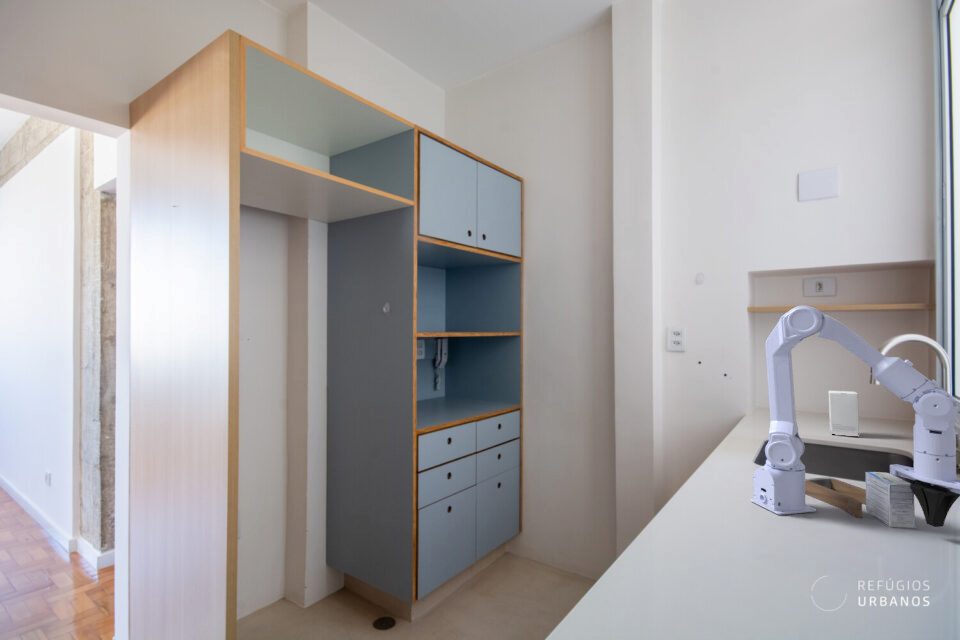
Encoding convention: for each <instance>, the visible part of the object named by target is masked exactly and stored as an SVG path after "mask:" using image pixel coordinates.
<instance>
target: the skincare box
mask: <svg viewBox="0 0 960 640" xmlns="http://www.w3.org/2000/svg"><path fill="white" fill-rule="evenodd" d="M827 393H828V417H829V420H828V421H829V431H830V430H831V431H836V432H851V433H859V434H860V417H859V416H860V415H859V414H860V413H859V411H860V410H859V393H858V392H856V391H852V390H851V391H850V390H828V391H827Z"/></svg>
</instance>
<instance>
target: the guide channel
mask: <svg viewBox="0 0 960 640" xmlns="http://www.w3.org/2000/svg"><path fill="white" fill-rule="evenodd" d="M806 495H807V496H808V497H809V496H810V497H812V498H814V499H817V500H819V501H822V502H824V503H826V504H829V505H831V506H834V507H836V508H838V509H840V510H843V511H846V512H848V513H849V514H851V515H852V516H854V517H855V518H858V519H863V505H865V506H866V488H862V487H859V486H856V485H854V484H851V483H848V482H845V481H842V480H839V479H836V478H834V477H831V476H830V477H829V476H827V477H813V478H812V477H811V478H805V496H806Z"/></svg>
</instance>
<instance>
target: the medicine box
mask: <svg viewBox="0 0 960 640" xmlns="http://www.w3.org/2000/svg"><path fill="white" fill-rule="evenodd" d="M911 484H912V483H910V482H908V481H906V480H905V479H902V478H900V477H899V476H895V475H891V474H890V472H881V471H878V472H877V471H865V490H866V505H865V511H866V513H868V514H870V515H871V516H873V517H875V518H876V519H877V520H879V521H880V522H883V523H884V524H885V525H888V526H889V527H891V528H901V529H916V517H915V516H916V514H915V494H914V493H913V492H912V490H911V489H910V485H911Z"/></svg>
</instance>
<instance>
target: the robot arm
mask: <svg viewBox="0 0 960 640" xmlns="http://www.w3.org/2000/svg"><path fill="white" fill-rule="evenodd" d="M818 333H819V334H818ZM815 334H818V335H817V338H821V339H824V340H825V339H826V340H830V341H834V342H836V343H837V344H839V345H840V346H841V347H843V348H844V349H846V350H847V351H848V352H850V353H852V354H853V355H854V356H855V357H856V358H858V359H860V360H861V361H862V362H864V363H865V364H867V365H868V366H870V368H871V370H872V378H873V379H874V380H876V381H877V382H878V383H879V384H881V385H882V386H884V387H885V388H886V389H887V390H889V392H891V393H893V394H894V395H895V396H896V397H898V398H899V399H900V400H901V401H904V402H908V403H911V406H912V408H913V410H914V411H915V412H914V424H913V430H912V431H913V432H912V433H913V434H912V435H913V442H912V443H913V467H911V466H908V465H907V466H906V465H901V464H894V463H893V464H889V474H891V475H894V476H896V477H902V478H904V479H905V478H906V479H909V480H912V481H914V483H911V485H910V489H911V490H912V492H913V493H914V497H915V498H916V499H917V501H918V503H919V505H920V508H921V510H922V512H923V517H924V519H925V522H926V525H928V526H931V527H934V528H940V527H944V524H945V523H946V522H945V521H946V518H947V515H948V513H949V512H950V510H951V508H952V506H953V505H954V503H955V502H956V501H957V500H958V499H959V497H960V478H958V477H957V438H956V437H957V434H956V433H957V430H956V429H955V425H956V421H955V417H956V416H957V415H958V413H959V406H958V404H957V401H956V400H955V398H954V397H953V396H952V395H951V394H950V393H949V392H947V390H946V389H945V388H943V387H940V386H938V385H939V384H940V383H939V382H938V381H936V380H935V379H932V380H931V379H929V377H927V376H925V375H924V374H923V373H921V372H920V371H918V370H917V369H916V368H914V367H913V366H914V363H913V362H912V361H910V360H909V359H905V360H903V359H902V358H901V357H899V356H886V355H884V354H882V353H881V352H880V351H879V350H878V349H876V348H875V346H872V345H871V344H870V343H869V342H868V341H866V340H865V339H864V338H862V337H861V336H859V335H858V334H857V333H856V332H855V331H853V330H852V329H851V328H849V326H847V325H846V324H845V323H843V322H841V321H839V320H837V319H835V318H833V317H832V316H830V315H828V314H825V313H823V312H822V311H821V310H820V309H818V308H816V307H812V306H809V305H798V306H795V307H793V308H791V309H790V310H789V311H787V312H786V313H784V314H783V315H782V316H781V317H780V318H779V320H778V322H777V323H776V325H775V326H774V328H773V329H772V331H771V332H770V334H769V336H768V337H767V339H766V341H765V357H766V360H765V361H766V371H767V372H766V373H767V375H766V376H767V390H768V401H769V402H768V404H769V417H770V423H769V429H768V431H769V432H768V442H767V444H766V445H765V448H764V453H765V457H766V460H765V464H764V465H763V466H760V467H758V468H756V469H755V470H754V472H753V477H752V478H753V479H752V481H753V486H752V489H753V498H750V502H752V503H754V504H756V505H758V506H760V507H762V508H764V509H766V510H769V512H772V513H775V514H776V515H779V516H781V515H791V514H802V513H815V512H817V509H816V508H814V507H812V506H810V505H807V504H806V494H805V479H806V465H805V464H804V463H803V462H802V460H801V457H802V456H803V454H804V453H805V450H806V448H805V443H804V441H803V440H802V438H801V436H800V433H799V426H798V423H797V415H796V403H795V387H794V373H793V372H794V371H793V359H792V357H793V356H792V355H793V354H792V350H793V349H794V348H795V347H796V346H798V344H800V343H802V342H803V340H805V339H806V338H808V337H811V336H813V335H815Z"/></svg>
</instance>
